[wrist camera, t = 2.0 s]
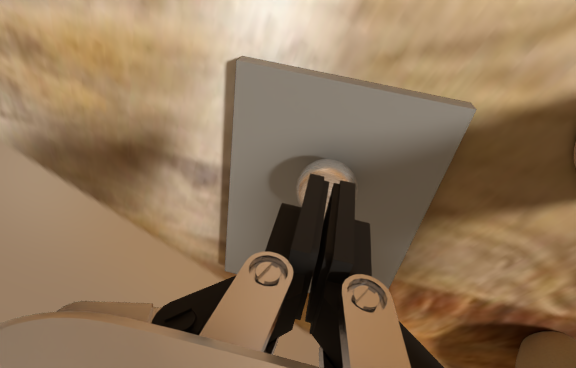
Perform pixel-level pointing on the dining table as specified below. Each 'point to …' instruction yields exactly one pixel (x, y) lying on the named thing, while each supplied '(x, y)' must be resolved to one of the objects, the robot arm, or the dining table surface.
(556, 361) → the flower pot
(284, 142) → the grey flat plate
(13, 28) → the dining table surface
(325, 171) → the ball
